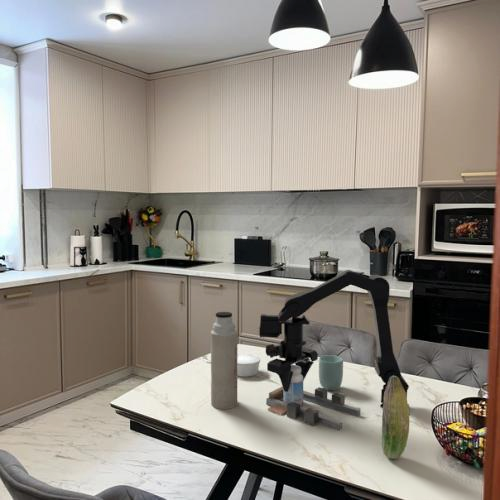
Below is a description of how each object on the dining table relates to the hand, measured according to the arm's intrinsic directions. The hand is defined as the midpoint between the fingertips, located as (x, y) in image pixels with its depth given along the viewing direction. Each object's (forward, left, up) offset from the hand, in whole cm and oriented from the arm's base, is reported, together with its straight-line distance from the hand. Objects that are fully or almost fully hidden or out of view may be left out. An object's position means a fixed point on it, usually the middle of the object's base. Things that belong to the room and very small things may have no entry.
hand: (293, 387), depth 138 cm
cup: (-2, -18, -5) cm, 19 cm away
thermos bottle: (+16, +14, -5) cm, 22 cm away
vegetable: (-36, +10, -5) cm, 38 cm away
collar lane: (-7, 0, -5) cm, 8 cm away
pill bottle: (0, 0, -5) cm, 5 cm away
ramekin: (+29, -10, -5) cm, 31 cm away
